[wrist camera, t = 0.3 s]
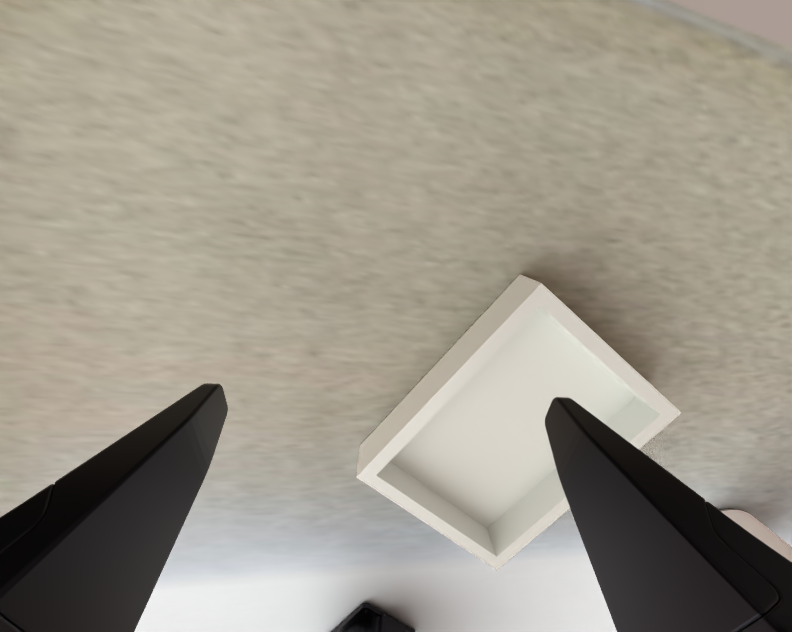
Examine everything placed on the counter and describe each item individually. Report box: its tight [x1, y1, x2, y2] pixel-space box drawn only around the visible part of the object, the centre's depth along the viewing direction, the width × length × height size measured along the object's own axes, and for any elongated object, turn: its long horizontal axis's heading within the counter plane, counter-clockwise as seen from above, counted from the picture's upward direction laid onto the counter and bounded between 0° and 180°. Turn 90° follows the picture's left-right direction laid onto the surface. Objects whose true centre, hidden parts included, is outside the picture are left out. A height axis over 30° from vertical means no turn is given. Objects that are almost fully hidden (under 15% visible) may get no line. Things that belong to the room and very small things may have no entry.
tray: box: [356, 274, 681, 570], centre depth 26 cm, size 18×14×4 cm
